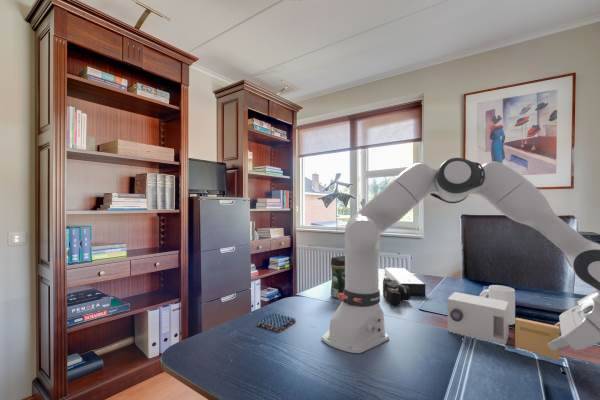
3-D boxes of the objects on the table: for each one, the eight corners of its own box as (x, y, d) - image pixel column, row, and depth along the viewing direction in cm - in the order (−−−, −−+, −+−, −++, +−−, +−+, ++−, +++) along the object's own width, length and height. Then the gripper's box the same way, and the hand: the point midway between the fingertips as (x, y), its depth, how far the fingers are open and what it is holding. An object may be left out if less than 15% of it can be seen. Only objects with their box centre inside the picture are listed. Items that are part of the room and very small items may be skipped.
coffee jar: (344, 292, 141) (344, 254, 141) (355, 297, 134) (355, 256, 134) (327, 295, 136) (327, 255, 136) (338, 300, 129) (338, 258, 129)
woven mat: (280, 334, 97) (280, 328, 97) (256, 326, 103) (256, 320, 103) (297, 323, 106) (297, 317, 106) (274, 317, 112) (274, 311, 112)
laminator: (425, 297, 135) (425, 284, 135) (398, 296, 136) (398, 283, 136) (404, 278, 169) (404, 267, 169) (382, 278, 170) (382, 267, 170)
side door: (559, 362, 78) (559, 329, 78) (515, 351, 84) (515, 319, 84) (559, 359, 80) (558, 326, 80) (515, 348, 86) (515, 317, 86)
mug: (485, 311, 117) (485, 281, 117) (519, 322, 106) (519, 289, 106) (473, 315, 113) (473, 284, 113) (507, 326, 102) (507, 292, 102)
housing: (504, 348, 87) (504, 311, 87) (446, 333, 97) (446, 300, 97) (508, 335, 96) (508, 301, 96) (454, 322, 106) (454, 291, 106)
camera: (415, 308, 120) (415, 284, 120) (389, 308, 120) (389, 283, 120) (402, 296, 136) (402, 274, 136) (380, 295, 136) (380, 274, 136)
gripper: (583, 293, 83) (539, 318, 90) (592, 313, 68) (538, 343, 74) (606, 312, 80) (559, 337, 87) (620, 339, 65) (561, 367, 71)
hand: (549, 340), depth 80 cm, fingers open, 8 cm apart
